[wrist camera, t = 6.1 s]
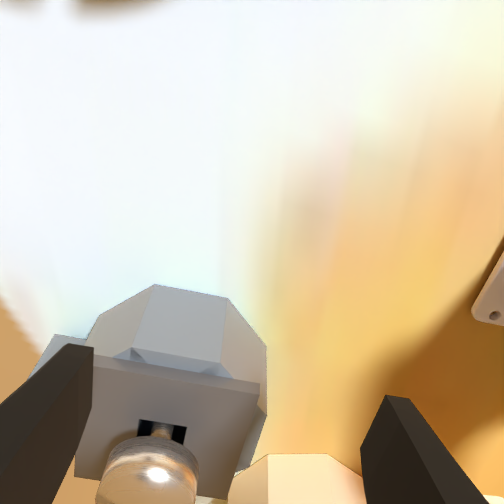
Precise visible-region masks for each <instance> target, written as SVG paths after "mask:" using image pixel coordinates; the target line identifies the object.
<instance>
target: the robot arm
mask: <svg viewBox="0 0 504 504" xmlns="http://www.w3.org/2000/svg"><path fill="white" fill-rule="evenodd" d="M494 311H497V312H496V313H495V314H493V315H490V314H491V313H492V312H494ZM471 314H472V315H473V317H474V318H475V319H476V320H478V321H480V322H485V323H491V324H496V325H501V326H504V251H503V253H502V255H501V257H500V258H499V260H498V262H497V264H496V266H495V267H494V269H493V271H492V273H491V274H490V276H489V278H488V280H487V281H486V283H485V285H484V287H483V289H482V290H481V292H480V294H479V296H478V297H477V299H476V301H475V303H474V304H473V306H472V309H471ZM93 361H94V347H89V346H83V345H77V344H71V343H67V344H66V345H64V346H63V347H62V348H61V349H60V350H59V351H58V352H57V353H56V354H55V355H54V356H52V357H51V358H50V359H49V360H48V361H47V362H46V363H45V364H44V365H43V366H42V367H41V368H40V369H39V370H38V371H37V372H36V373H35V374H33V375H32V376H31V377H30V378H29V379H28V380H27V381H26V382H25V383H24V384H23V385H21V386H20V387H19V388H18V389H17V390H16V391H15V392H13V393H12V394H11V395H10V396H9V397H8V398H6V399H5V400H4V401H3V402H2V403H1V404H0V504H52V502H53V500H54V498H55V496H56V494H57V491H58V489H59V487H60V485H61V483H62V481H63V479H64V477H65V475H66V472H67V470H68V468H69V466H70V464H71V461H72V460H73V457H74V455H75V453H76V451H77V449H78V446H79V443H80V440H81V438H82V435H83V432H84V429H85V426H86V423H87V420H88V417H89V414H90V411H91V408H92V391H93ZM360 453H361V465H362V475H363V485H364V492H365V497H366V502H367V504H489V502H488V501H487V500H486V499H485V498H484V496H483V495H482V494H481V493H480V491H479V490H478V489H477V488H476V486H475V485H474V484H473V483H472V481H471V480H470V479H469V478H468V476H467V475H466V474H465V472H464V471H463V470H462V469H461V467H460V466H459V465H458V463H457V462H456V461H455V459H454V458H453V457H452V455H451V454H450V453H449V451H448V450H447V449H446V447H445V446H444V445H443V443H442V442H441V441H440V439H439V438H438V437H437V435H436V434H435V433H434V431H433V430H432V429H431V427H430V426H429V424H428V423H427V422H426V420H425V419H424V418H423V416H422V415H421V414H420V412H419V411H418V410H417V408H416V407H415V406H414V404H413V403H412V402H411V400H410V399H408V398H402V397H396V396H390V395H385V397H384V399H383V401H382V403H381V406H380V408H379V410H378V412H377V414H376V416H375V418H374V420H373V422H372V424H371V427H370V429H369V431H368V433H367V435H366V437H365V439H364V441H363V443H362V445H361V448H360Z"/></svg>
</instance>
